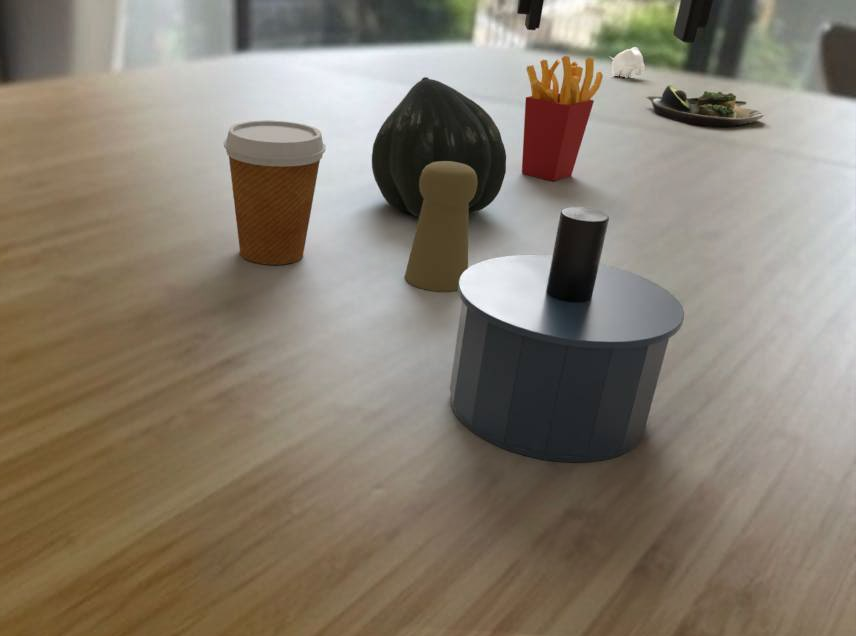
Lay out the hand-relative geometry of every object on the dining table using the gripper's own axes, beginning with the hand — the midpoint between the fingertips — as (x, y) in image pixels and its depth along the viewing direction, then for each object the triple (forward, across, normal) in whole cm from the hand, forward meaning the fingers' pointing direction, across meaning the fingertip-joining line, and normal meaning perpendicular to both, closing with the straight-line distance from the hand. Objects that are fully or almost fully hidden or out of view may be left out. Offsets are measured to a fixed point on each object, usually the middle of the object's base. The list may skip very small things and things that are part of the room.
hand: (606, 33), depth 58 cm
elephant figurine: (+24, -29, -146) cm, 151 cm away
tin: (+24, 0, +6) cm, 25 cm away
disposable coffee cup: (+25, +25, -19) cm, 40 cm away
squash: (+25, +10, -39) cm, 47 cm away
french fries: (+25, -5, -60) cm, 65 cm away
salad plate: (+24, -37, -109) cm, 117 cm away
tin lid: (+16, 0, +6) cm, 17 cm away
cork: (+25, +8, -17) cm, 31 cm away
